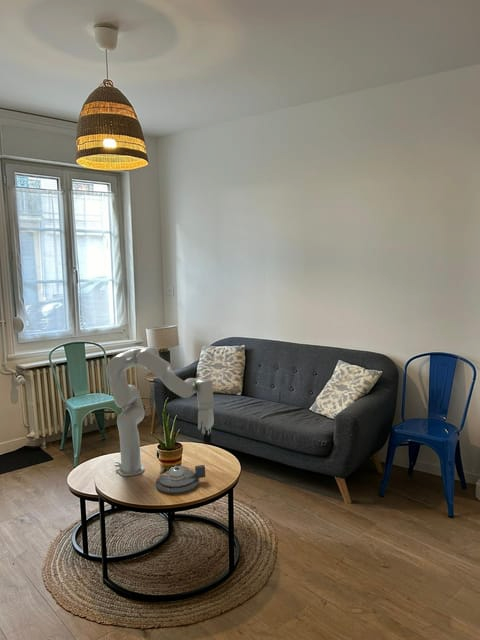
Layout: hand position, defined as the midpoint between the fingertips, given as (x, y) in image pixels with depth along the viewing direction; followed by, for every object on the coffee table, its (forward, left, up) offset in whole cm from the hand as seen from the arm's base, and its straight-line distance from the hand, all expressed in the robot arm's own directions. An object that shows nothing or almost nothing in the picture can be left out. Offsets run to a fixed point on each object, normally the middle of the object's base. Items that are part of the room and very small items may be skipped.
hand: (207, 442), depth 230 cm
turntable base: (-11, -13, -17) cm, 24 cm away
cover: (-11, -14, -13) cm, 21 cm away
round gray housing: (-9, -13, -14) cm, 21 cm away
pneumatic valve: (-22, +2, -17) cm, 28 cm away
